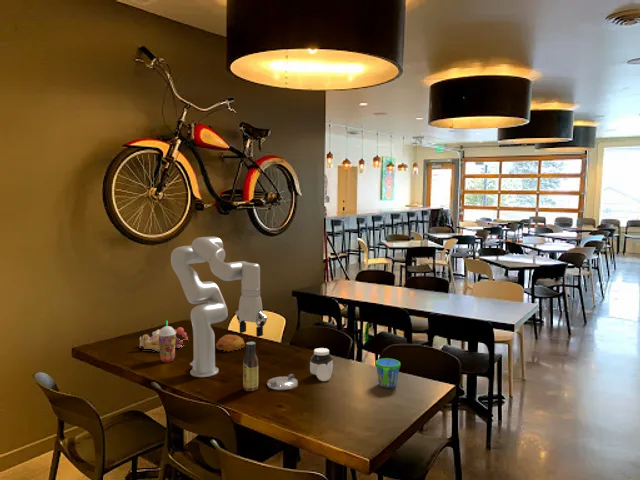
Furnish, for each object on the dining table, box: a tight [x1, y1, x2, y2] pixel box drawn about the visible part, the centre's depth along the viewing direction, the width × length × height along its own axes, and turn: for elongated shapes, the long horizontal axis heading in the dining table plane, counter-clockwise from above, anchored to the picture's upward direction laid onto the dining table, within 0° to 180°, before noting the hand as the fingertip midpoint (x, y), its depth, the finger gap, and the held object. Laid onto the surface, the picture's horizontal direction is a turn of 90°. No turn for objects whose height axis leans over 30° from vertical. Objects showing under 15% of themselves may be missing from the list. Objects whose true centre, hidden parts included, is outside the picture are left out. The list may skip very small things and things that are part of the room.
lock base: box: [266, 373, 299, 391], centre depth 204 cm, size 13×13×3 cm
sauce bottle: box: [242, 341, 259, 392], centre depth 198 cm, size 6×6×20 cm
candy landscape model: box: [139, 326, 189, 352], centre depth 260 cm, size 25×24×9 cm
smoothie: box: [158, 320, 177, 363], centre depth 234 cm, size 8×8×20 cm
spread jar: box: [309, 347, 334, 382], centre depth 213 cm, size 12×11×12 cm
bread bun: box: [215, 333, 246, 352], centre depth 256 cm, size 15×16×8 cm
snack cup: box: [375, 357, 401, 389], centre depth 203 cm, size 16×10×10 cm
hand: (251, 334), depth 197 cm, fingers open, 9 cm apart
